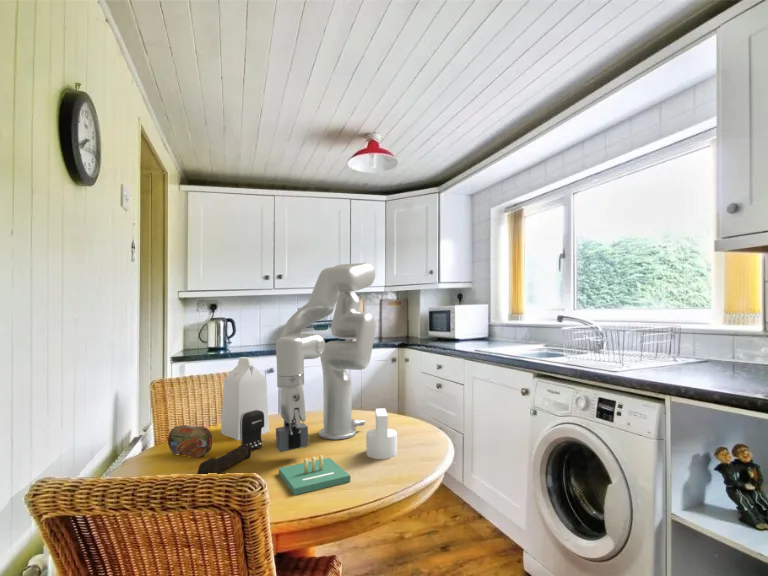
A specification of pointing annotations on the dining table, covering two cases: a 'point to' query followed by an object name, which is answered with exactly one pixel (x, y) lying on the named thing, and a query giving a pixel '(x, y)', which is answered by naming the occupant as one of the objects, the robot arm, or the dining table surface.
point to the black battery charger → (251, 428)
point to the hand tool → (225, 460)
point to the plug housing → (283, 437)
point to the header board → (313, 475)
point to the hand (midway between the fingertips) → (292, 444)
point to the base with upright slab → (381, 438)
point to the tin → (190, 440)
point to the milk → (243, 397)
